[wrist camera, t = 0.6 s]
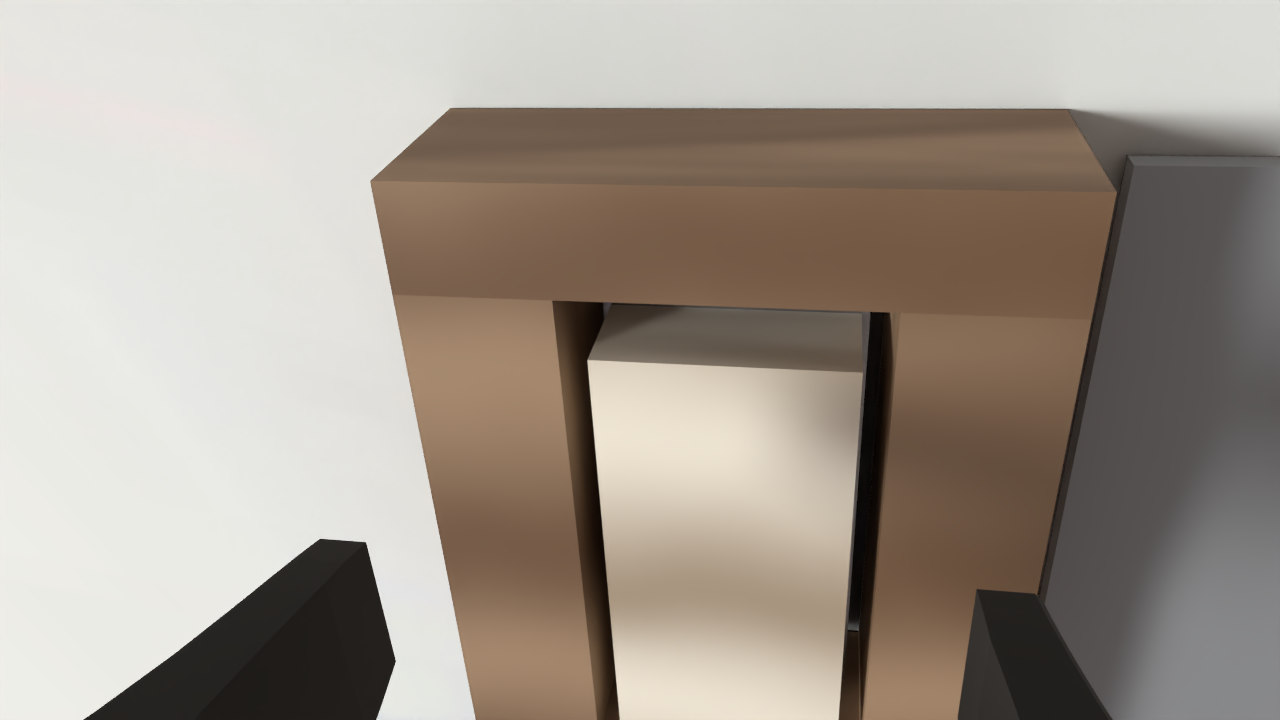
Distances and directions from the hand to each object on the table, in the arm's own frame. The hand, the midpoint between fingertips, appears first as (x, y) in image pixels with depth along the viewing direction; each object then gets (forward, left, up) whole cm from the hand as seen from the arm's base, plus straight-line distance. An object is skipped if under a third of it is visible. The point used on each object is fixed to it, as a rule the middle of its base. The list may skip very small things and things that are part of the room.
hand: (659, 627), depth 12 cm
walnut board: (-4, 0, -9) cm, 10 cm away
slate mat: (-4, -10, -9) cm, 15 cm away
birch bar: (-4, 0, -8) cm, 9 cm away
